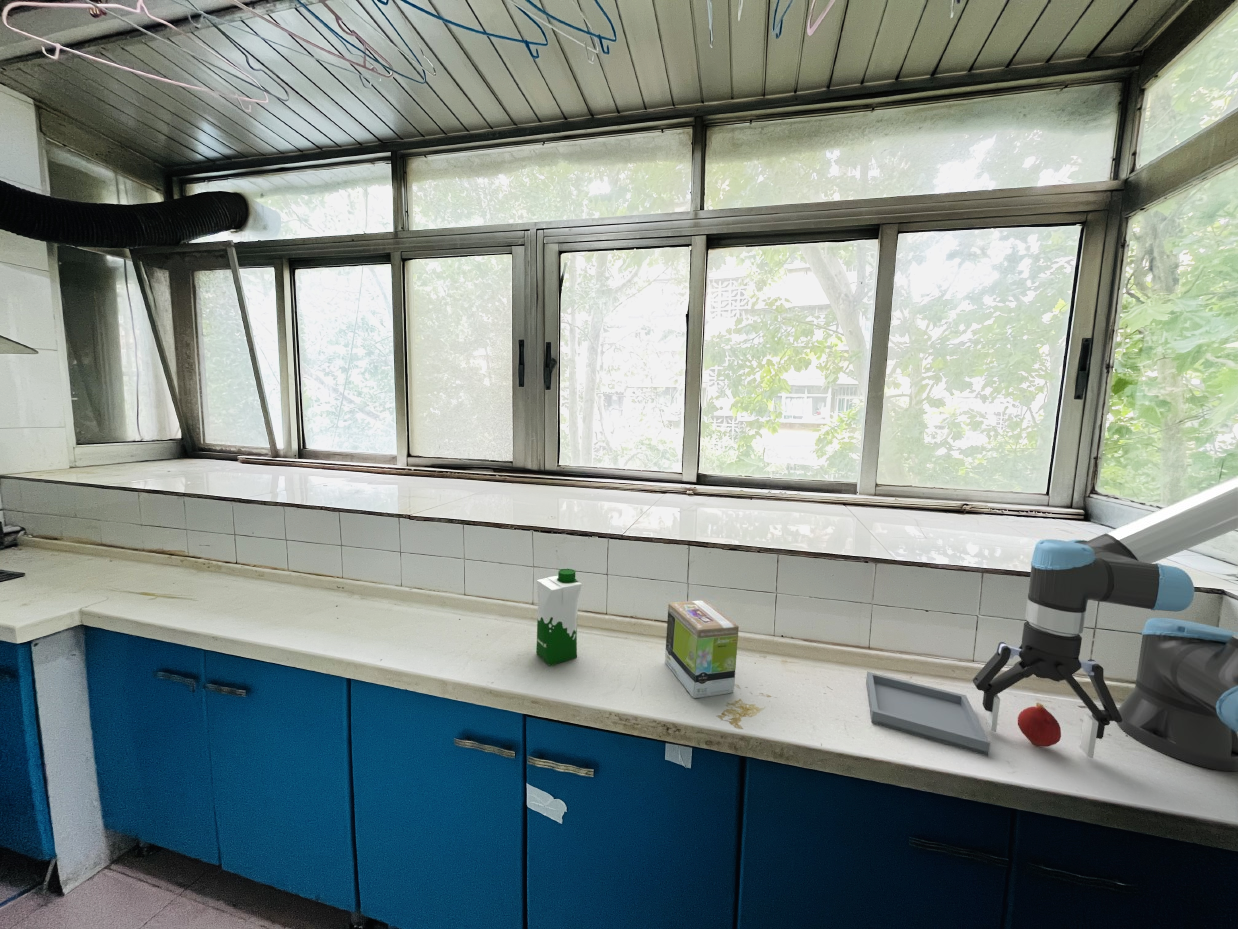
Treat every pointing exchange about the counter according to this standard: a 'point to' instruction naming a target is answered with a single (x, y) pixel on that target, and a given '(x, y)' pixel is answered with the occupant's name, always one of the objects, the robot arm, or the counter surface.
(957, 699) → the tray
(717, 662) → the tea box
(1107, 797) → the counter surface
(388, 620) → the counter surface
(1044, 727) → the onion
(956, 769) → the counter surface
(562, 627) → the milk carton
